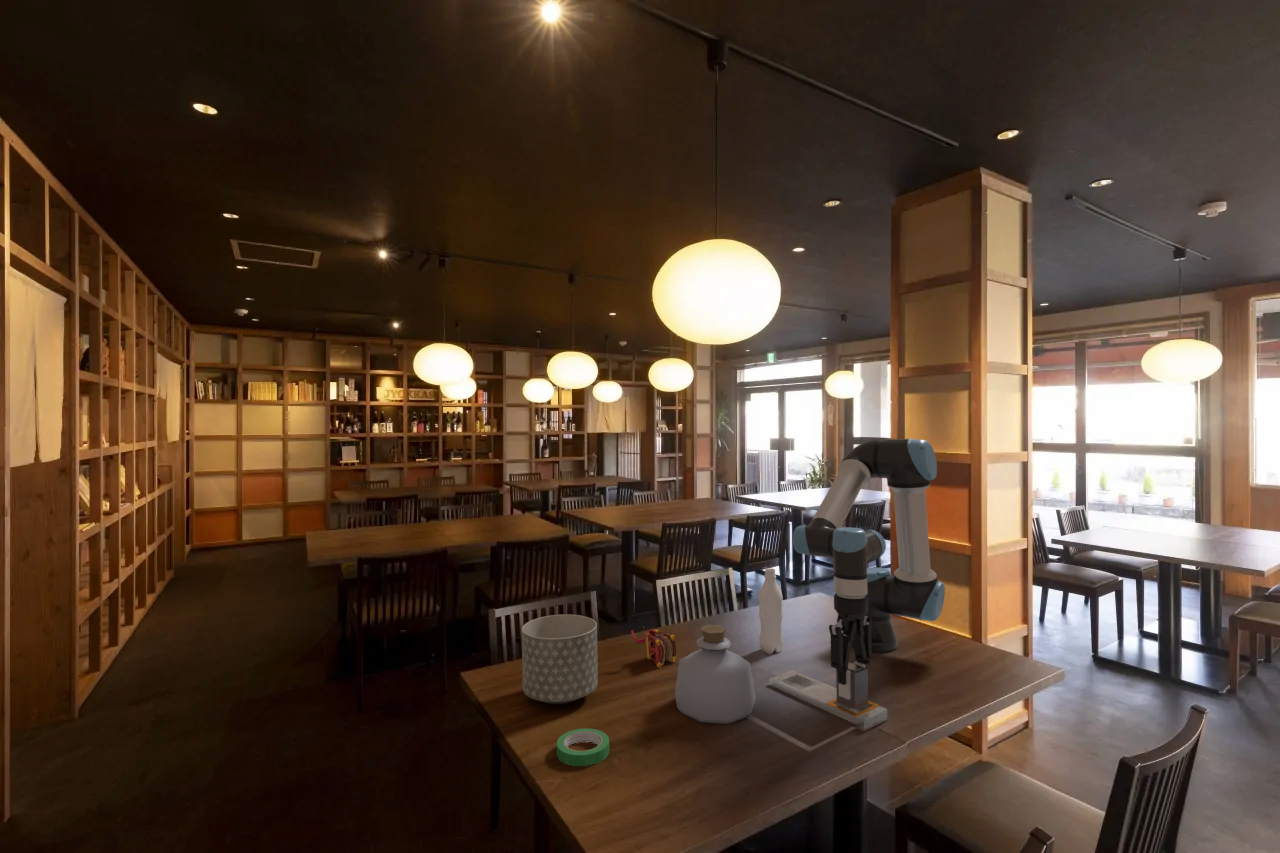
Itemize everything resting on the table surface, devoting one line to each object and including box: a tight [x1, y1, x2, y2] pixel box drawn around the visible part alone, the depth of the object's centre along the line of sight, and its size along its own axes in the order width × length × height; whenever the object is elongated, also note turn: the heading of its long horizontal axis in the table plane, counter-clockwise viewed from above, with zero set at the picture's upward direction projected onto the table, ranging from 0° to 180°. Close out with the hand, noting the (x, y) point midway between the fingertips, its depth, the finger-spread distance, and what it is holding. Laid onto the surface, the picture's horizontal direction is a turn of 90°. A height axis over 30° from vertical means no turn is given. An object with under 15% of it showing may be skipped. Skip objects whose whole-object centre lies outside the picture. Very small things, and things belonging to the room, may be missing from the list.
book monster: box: [630, 629, 678, 669], centre depth 170 cm, size 11×9×12 cm
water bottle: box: [758, 567, 785, 655], centre depth 178 cm, size 7×7×25 cm
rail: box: [768, 669, 888, 732], centre depth 143 cm, size 9×28×3 cm, turn 35°
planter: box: [521, 614, 599, 705], centre depth 149 cm, size 19×19×18 cm
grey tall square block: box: [835, 661, 869, 709], centre depth 137 cm, size 5×5×8 cm
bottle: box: [674, 624, 757, 725], centre depth 143 cm, size 20×20×19 cm
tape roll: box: [556, 727, 610, 767], centre depth 123 cm, size 11×11×3 cm
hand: (852, 693), depth 137 cm, fingers closed on grey tall square block, 5 cm apart
